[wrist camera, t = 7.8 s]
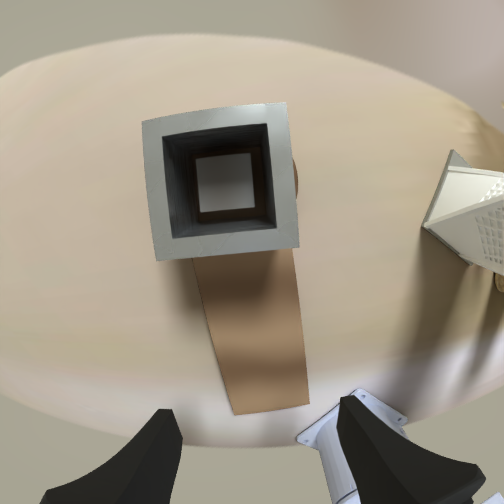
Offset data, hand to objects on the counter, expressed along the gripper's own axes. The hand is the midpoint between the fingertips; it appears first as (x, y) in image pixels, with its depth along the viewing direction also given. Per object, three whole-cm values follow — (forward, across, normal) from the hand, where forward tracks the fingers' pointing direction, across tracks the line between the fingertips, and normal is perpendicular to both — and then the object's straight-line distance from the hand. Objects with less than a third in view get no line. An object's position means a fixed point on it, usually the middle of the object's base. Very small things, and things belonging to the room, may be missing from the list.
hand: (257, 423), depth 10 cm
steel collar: (+8, +1, -10) cm, 13 cm away
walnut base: (+9, 0, -3) cm, 10 cm away
